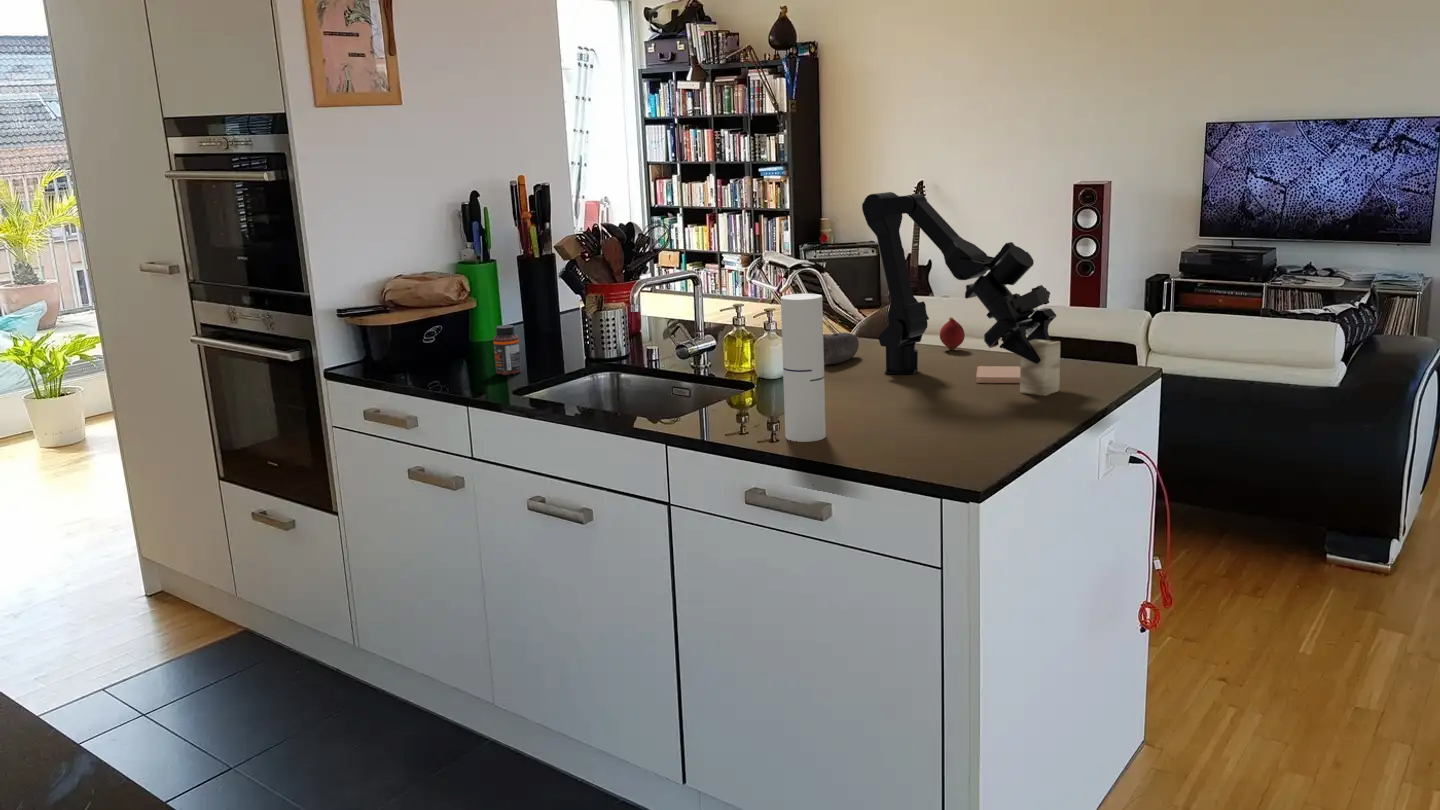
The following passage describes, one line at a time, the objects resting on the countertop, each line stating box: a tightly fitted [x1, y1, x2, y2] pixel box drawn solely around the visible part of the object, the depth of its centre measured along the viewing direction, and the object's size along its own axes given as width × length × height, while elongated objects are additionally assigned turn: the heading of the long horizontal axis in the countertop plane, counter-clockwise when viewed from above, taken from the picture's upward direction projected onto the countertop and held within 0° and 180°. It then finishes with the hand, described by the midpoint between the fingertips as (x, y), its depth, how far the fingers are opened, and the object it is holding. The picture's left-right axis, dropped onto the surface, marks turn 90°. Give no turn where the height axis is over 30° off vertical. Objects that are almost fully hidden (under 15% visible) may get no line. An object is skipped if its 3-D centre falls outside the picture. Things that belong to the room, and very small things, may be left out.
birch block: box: [1019, 339, 1061, 397], centre depth 223 cm, size 6×6×10 cm
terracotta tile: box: [975, 365, 1020, 384], centre depth 238 cm, size 11×11×1 cm
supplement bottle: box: [492, 324, 522, 376], centre depth 266 cm, size 6×6×11 cm
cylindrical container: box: [780, 293, 826, 443], centre depth 196 cm, size 7×7×25 cm
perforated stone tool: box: [823, 332, 860, 365], centre depth 261 cm, size 15×5×7 cm, turn 140°
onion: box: [939, 316, 966, 351], centre depth 268 cm, size 6×6×8 cm
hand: (1046, 359), depth 222 cm, fingers closed on birch block, 5 cm apart
